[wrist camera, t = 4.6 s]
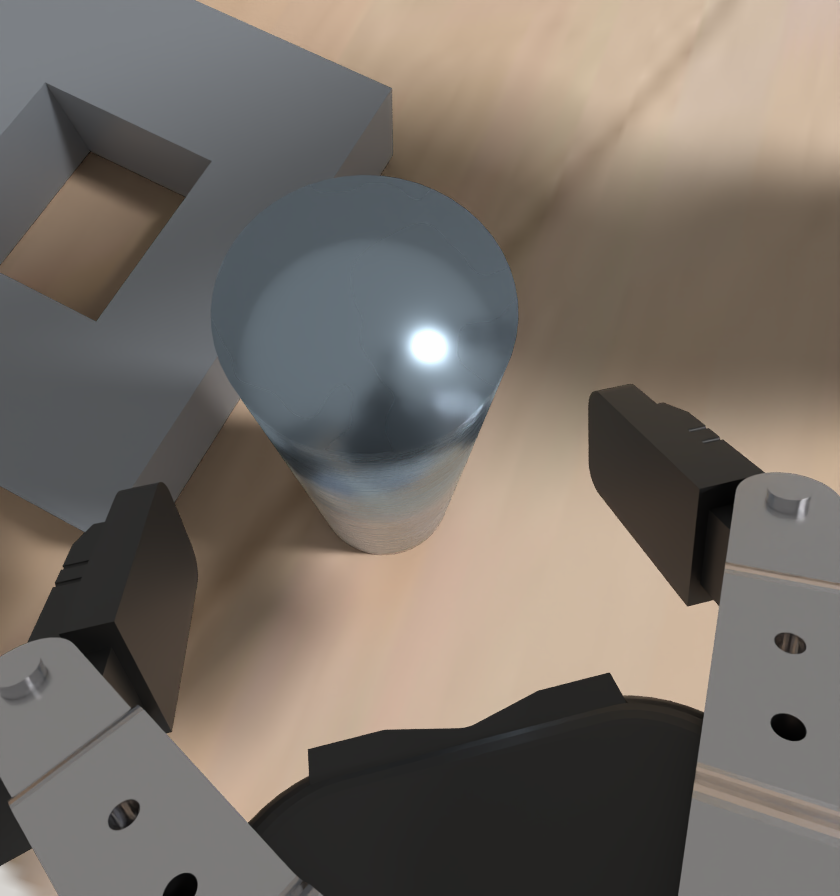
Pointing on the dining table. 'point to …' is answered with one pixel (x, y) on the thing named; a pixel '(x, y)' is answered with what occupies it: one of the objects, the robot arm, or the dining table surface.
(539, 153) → the dining table surface
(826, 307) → the dining table surface
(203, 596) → the dining table surface
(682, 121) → the dining table surface
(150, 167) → the socket stand
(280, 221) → the steel pin
